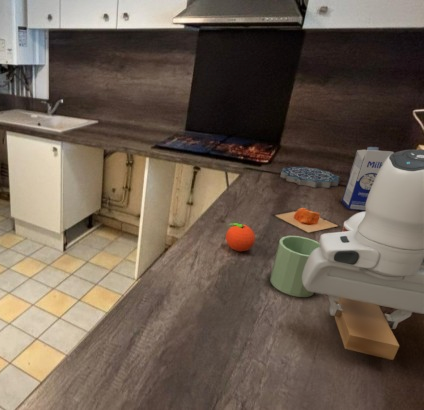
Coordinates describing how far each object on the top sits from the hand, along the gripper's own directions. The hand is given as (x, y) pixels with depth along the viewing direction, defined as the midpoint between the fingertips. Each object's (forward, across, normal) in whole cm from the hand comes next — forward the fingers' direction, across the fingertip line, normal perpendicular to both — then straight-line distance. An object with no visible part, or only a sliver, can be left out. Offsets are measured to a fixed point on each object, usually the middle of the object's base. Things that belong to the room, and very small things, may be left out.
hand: (360, 320), depth 63 cm
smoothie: (+5, -3, -20) cm, 21 cm away
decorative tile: (+5, -5, -96) cm, 96 cm away
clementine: (+4, +20, -26) cm, 34 cm away
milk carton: (+5, -16, -71) cm, 73 cm away
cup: (+4, +8, -14) cm, 17 cm away
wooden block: (+2, 0, 0) cm, 2 cm away
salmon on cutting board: (+5, +1, -52) cm, 52 cm away
